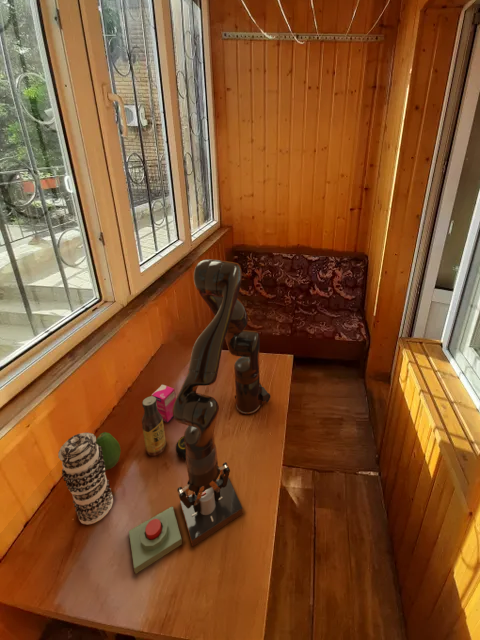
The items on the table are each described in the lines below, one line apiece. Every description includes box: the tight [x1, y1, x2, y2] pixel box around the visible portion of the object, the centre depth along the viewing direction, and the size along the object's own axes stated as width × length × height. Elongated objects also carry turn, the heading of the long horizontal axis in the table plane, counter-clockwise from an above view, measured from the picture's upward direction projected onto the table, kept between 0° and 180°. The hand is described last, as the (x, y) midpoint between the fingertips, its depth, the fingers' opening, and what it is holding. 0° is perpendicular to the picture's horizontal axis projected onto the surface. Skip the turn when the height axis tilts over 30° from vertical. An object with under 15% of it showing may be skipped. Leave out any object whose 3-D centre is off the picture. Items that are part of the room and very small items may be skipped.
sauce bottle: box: [141, 395, 167, 457], centre depth 101 cm, size 6×6×20 cm
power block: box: [128, 505, 183, 575], centre depth 79 cm, size 11×9×4 cm
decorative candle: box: [57, 432, 114, 525], centre depth 83 cm, size 9×9×25 cm
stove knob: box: [199, 487, 216, 515], centre depth 84 cm, size 4×4×6 cm
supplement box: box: [151, 384, 177, 424], centre depth 115 cm, size 6×6×12 cm
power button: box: [145, 519, 162, 540], centre depth 78 cm, size 4×4×2 cm
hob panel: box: [179, 476, 244, 548], centre depth 86 cm, size 14×11×3 cm
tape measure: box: [175, 435, 186, 461], centre depth 103 cm, size 7×7×4 cm
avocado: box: [96, 431, 122, 471], centre depth 96 cm, size 8×8×12 cm
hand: (207, 504), depth 85 cm, fingers closed on stove knob, 4 cm apart
